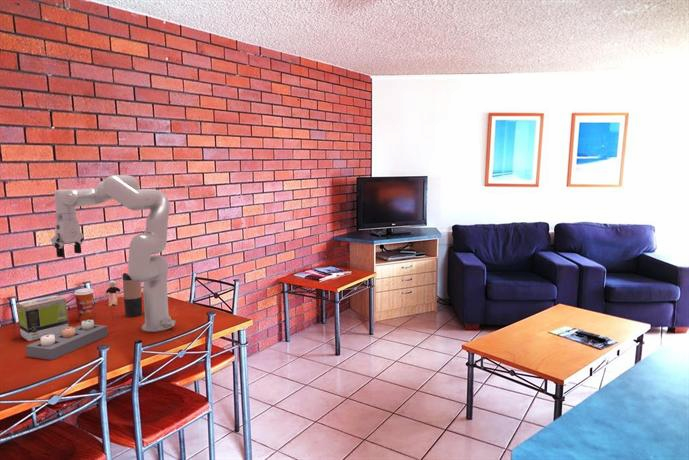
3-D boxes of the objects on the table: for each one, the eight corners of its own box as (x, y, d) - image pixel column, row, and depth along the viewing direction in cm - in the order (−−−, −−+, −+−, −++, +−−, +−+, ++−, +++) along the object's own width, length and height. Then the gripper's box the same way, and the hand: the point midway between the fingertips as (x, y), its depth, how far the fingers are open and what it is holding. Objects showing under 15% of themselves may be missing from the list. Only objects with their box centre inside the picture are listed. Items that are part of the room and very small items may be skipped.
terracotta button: (78, 337, 180) (77, 326, 180) (68, 340, 176) (68, 330, 176) (69, 335, 182) (68, 325, 181) (59, 339, 177) (59, 329, 177)
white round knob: (58, 345, 172) (57, 334, 171) (47, 349, 168) (46, 338, 167) (49, 344, 173) (48, 333, 173) (38, 348, 169) (37, 337, 168)
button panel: (108, 335, 190) (107, 326, 189) (51, 360, 165) (50, 349, 165) (85, 332, 193) (84, 323, 193) (26, 356, 169) (25, 345, 168)
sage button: (96, 329, 189) (96, 319, 188) (88, 333, 185) (87, 323, 184) (88, 328, 190) (87, 318, 190) (79, 332, 186) (78, 322, 185)
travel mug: (138, 317, 213) (135, 275, 211) (121, 317, 214) (119, 275, 211) (145, 312, 221) (143, 271, 219) (129, 312, 221) (127, 271, 219)
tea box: (60, 327, 201) (57, 294, 199) (69, 331, 195) (66, 298, 193) (19, 336, 189) (16, 301, 187) (28, 342, 183) (24, 306, 181)
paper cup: (81, 323, 205) (78, 293, 203) (73, 320, 210) (71, 290, 208) (99, 319, 211) (96, 289, 210) (91, 315, 216) (89, 286, 214)
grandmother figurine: (107, 307, 230) (105, 282, 229) (104, 305, 233) (103, 281, 231) (123, 304, 235) (121, 279, 234) (120, 302, 238) (119, 278, 237)
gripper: (57, 219, 195) (60, 258, 197) (88, 215, 212) (91, 252, 214) (42, 219, 197) (46, 258, 199) (74, 215, 213) (77, 251, 216)
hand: (69, 255), depth 206 cm, fingers open, 9 cm apart
